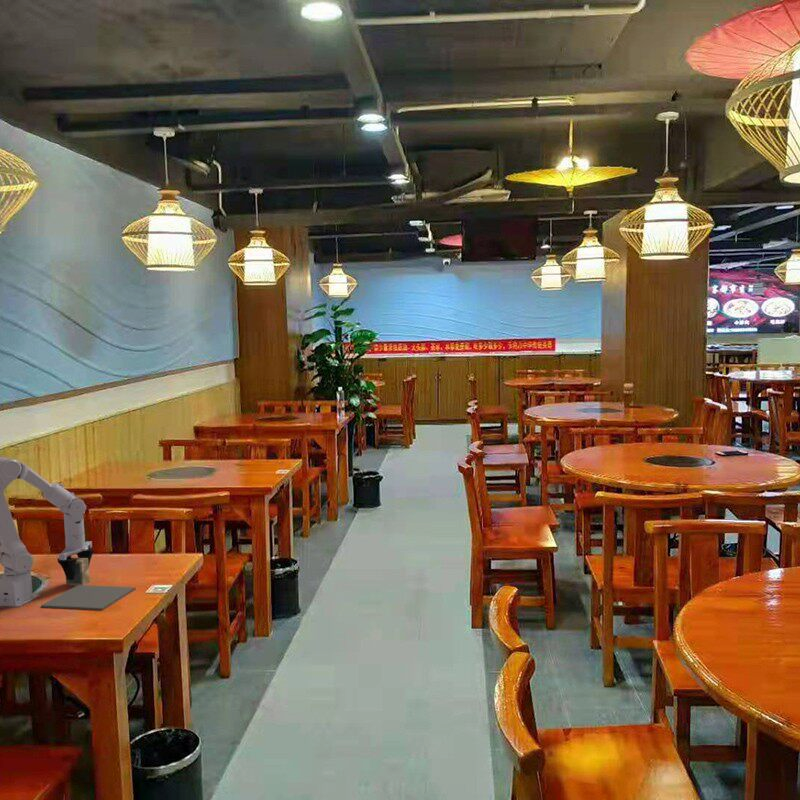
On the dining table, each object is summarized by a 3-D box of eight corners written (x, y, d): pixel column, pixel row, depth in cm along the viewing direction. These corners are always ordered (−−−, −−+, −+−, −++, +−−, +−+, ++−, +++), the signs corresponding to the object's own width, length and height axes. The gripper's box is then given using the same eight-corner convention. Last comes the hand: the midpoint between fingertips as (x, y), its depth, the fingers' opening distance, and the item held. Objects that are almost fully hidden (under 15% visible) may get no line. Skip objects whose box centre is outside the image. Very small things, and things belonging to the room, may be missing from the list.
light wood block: (82, 586, 240) (81, 561, 240) (66, 585, 242) (64, 560, 241) (89, 582, 244) (88, 558, 243) (72, 581, 245) (71, 557, 244)
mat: (102, 610, 218) (102, 608, 218) (41, 607, 222) (40, 605, 222) (135, 589, 236) (135, 587, 236) (77, 586, 240) (77, 585, 239)
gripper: (72, 540, 234) (75, 583, 235) (99, 528, 248) (101, 568, 249) (51, 540, 235) (54, 582, 236) (79, 528, 249) (82, 568, 250)
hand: (77, 575), depth 243 cm, fingers open, 7 cm apart
